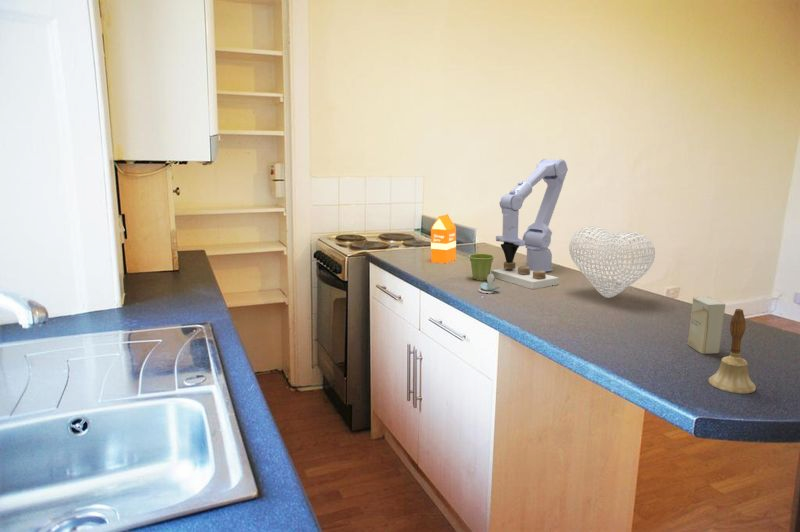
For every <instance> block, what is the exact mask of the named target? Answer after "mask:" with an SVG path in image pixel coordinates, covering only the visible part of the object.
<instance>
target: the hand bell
mask: <svg viewBox="0 0 800 532" xmlns="http://www.w3.org/2000/svg"><path fill="white" fill-rule="evenodd" d="M746 325H747V323H746V318H745V315H744V309H741V308H736V309H735V311H734V312H733V315H732V317H731V319H730V325H729V330H730V337H731V345H730V346H731V347H730V355H728V356H724V357H722V358H721V361H720V365H719V368H718V370H717V371H716V372H715V373H714V374H713V375H711V376H709V378H708V383H709V384H710V385H711V386H712V387H713V388H716V389H718V390H720V391H724V392H726V393H727V392H728V393H733V394H738V395H740V394H741V395H742V394H743V395H745V394H747V395H748V394H751V393H754V392H755V391H756V390H757V387H756V385H755V383H754V382H753V381H752V379H751V378H750V375H749V371H748V370H749V369H748V362H747V360H746V359H745V358H743V357H741V347H742V346H741V345H742V338H743V337H744V334H745V331H746Z"/></svg>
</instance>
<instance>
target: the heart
mask: <svg viewBox="0 0 800 532" xmlns="http://www.w3.org/2000/svg"><path fill="white" fill-rule="evenodd" d="M598 242H599V243H598ZM592 245H593V247H592ZM637 245H638V247H637ZM641 245H642V246H641ZM632 246H634V248H633V247H632ZM568 249H569V255H570V258H571V260H572V261H573V263H574V264H575V266H576V267H577V268H578V269H579V271H580V272H581V273H582V275H584V277H585V278H586V279H587V280H588V281H589V282H590V284H591V285H592V286H593V288H594V289H595V290H596V291H597V292H598V293H599V294H600V295H601V296H603V298H606V299H607V298H608V299H609V298H610V299H611V298H613V297H615V296H617V295H619V294H621V292H624V290H626V289H627V288H628V287H630V286H631V285H632V284H634V283H635V282H637V281H638V280H639V279H641V278H642V277H643V276H644V275H645V274H646V273H647V272H648V271H649V270H650V268H651V267H652V265H653V263H654V261H655V258H656V257H655V255H656V250H655V245H654V244H653V242H652V240H651V239H650V238H649V237H648V236H647V235H645V234H643V233H641V232H638V231H637V232H636V231H621V232H617V233H613V232H611V231H610V230H608V229H606V228H603V227H600V226H593V225H591V226H587V227H581V229H578V231H576V232H575V233H574V234H573V235H572V237H571V239H570V241H569V246H568ZM581 253H582V254H581ZM589 256H590V257H589ZM593 256H594V257H593ZM606 256H607V257H606ZM610 256H611V257H610ZM625 256H626V258H625ZM629 256H631V257H629ZM600 257H601V258H600ZM593 261H594V262H593ZM624 261H626V262H625V263H624ZM629 261H630V263H629ZM610 262H611V263H610ZM634 262H635V263H634ZM614 263H615V264H614ZM623 266H625V267H623ZM628 266H630V267H628ZM637 267H638V268H637ZM626 271H627V272H626Z"/></svg>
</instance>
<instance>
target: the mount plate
mask: <svg viewBox="0 0 800 532" xmlns="http://www.w3.org/2000/svg"><path fill="white" fill-rule="evenodd" d="M519 267H520V266H516V268H515V269H513V271H506V269H505V268H504V267H502V268H495V269H491V270H490V274H493V275H494V277H495V278H494V279H497V278H498V280H501V281H505V282H506V283H511V284H514V285H517V286H521V287H524V288H527V289H531V290H536V289H542V288H546V287H547V286H548V287H553V286H558V285H557V284H559V282H560V281H559V279H560V278H559V277H557V276H554V275H550V274H546V278H544V279H536V278H533V272H534V271H531V270H530V274H527V275H521V274H518V268H519ZM552 285H553V286H552Z"/></svg>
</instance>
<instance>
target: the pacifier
mask: <svg viewBox="0 0 800 532" xmlns="http://www.w3.org/2000/svg"><path fill="white" fill-rule="evenodd" d="M494 280H495V278H494V275H493V274H491V273H490V274H489V275H488V277H487V279H486V281H487V282H482V283H481V284H480V288H478V292H480V293H481V294H482V293H483V294H486V293H488V295H490V294H494V293H495V290H496V291H497V290H498V289H500V286H496V287H494V285H493V284H494V283H493V282H494Z"/></svg>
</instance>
